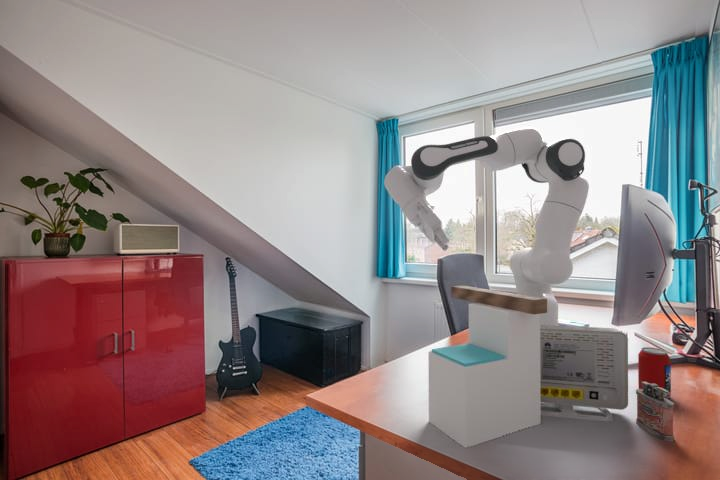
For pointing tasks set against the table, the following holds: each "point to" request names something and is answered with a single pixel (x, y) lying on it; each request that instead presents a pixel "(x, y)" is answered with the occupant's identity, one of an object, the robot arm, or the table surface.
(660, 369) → the beverage can
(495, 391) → the stepped stand
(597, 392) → the network device
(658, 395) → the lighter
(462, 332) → the table surface
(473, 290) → the walnut block
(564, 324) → the light bulb box
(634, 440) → the table surface
